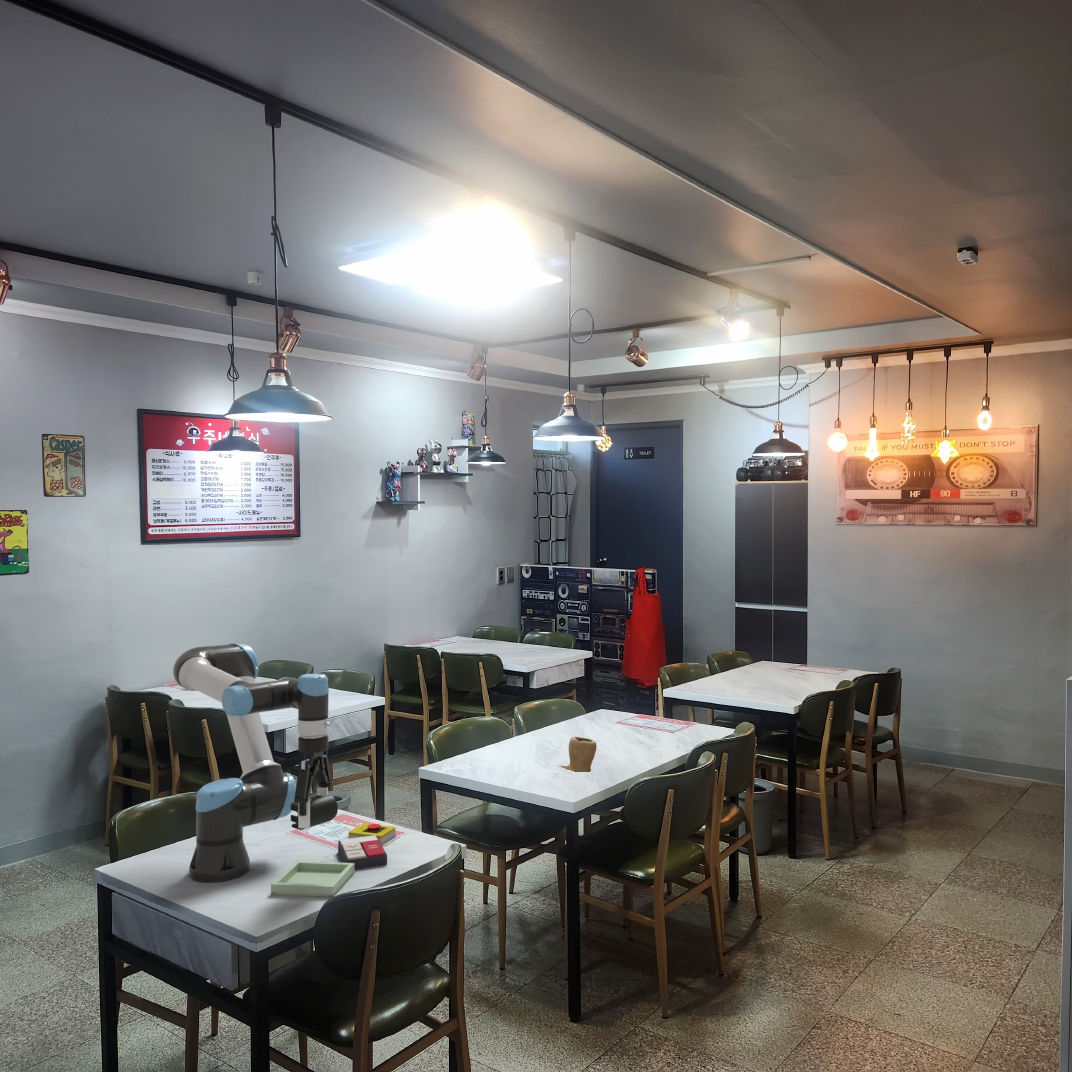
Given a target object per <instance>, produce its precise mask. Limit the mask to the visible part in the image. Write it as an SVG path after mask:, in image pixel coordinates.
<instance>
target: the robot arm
mask: <svg viewBox="0 0 1072 1072" xmlns="http://www.w3.org/2000/svg"><path fill="white" fill-rule="evenodd" d="M258 666H259V661H258V656H257V655H256V653H255V651H254V649H253V648H252V647H251V646H250V645H248V644H245V643H235V642H234V643H228V644H220V645H208V646H195V647H193V648H190V649H188V650H186V651H184V652H183V653H181V655H180V656H179V657H178V658H177V659H176V660H175V663H174V665H173V669H172V670H173V671H172V674H173V678H174V680H175V682H176V684H178V686H180V687H182V689H185V690H187V691H190V692H199V693H202V694H203V695H205V696H208V697H209V698H211V699H214V701H217V702H219V703H221V705H222V709H223V711H225V714H226V717H227V722H228V723H229V727H230V732H231V735H232V738H233V742H234V746H235V749H236V752H237V756H238V759H239V763H240V766H241V770H242V774H241V776H240V777H239V778H238V777H229V778H221V779H217V780H214V781H211V782H208V783H206V784H204V785H203V786H201V787H200V789H198V791H197V793H196V801H195V802H196V803H195V807H194V808H195V820H196V821H195V823H196V824H195V827H196V828H195V829H196V830H195V832H196V833H195V835H196V836H195V837H196V838H195V839H196V844H195V848H194V851H193V854H192V858H191V860H190V864H189V867H188V869H189V870H188V871H189V872H188V873H189V875H188V876H189V878H190V879H191V880H193V881H196V882H202V883H216V882H224V881H229V880H232V879H236V878H238V877H241V876H244V875H245V874H247V873H248V872H249V870H250V868H251V867H250V865H251V863H250V861H251V860H250V857H249V854H248V851H247V848H246V845H245V841H244V839H243V838H244V831H243V830H244V829H243V828H245V827H250V826H253V825H257V824H262V823H265V822H270V821H277V820H278V819H281V818H284V817H287V816H288V815H291V813H292V812H293V811H292V810H291V809H290V808H291V803H293V802H298V814H297V816H298V828H306V829H310V828H311V827H310V794H311V790H312V784H313V781H314V778H315V780H316V782H317V784H318V787H317V788H316V795H319V796H322V797H324V796H328V795H329V788H330V787H332V777H331V775H332V774H331V768H330V763H329V758H328V757H329V756H328V754H329V753H328V750H329V735H328V732H329V726H331V723H330V722H329V693H330V691H329V690H330V688H329V678H328V676H327V675H326V674H323V673H305V674H301V675H300V676H298V678H296V677H293V676H290V677H287V676H285V677H281V678H279V679H277V680H272V681H270V680H269V681H265V682H264V681H263V682H256V679H257V677H258V674H259V667H258ZM285 709H296V710H298V711H297V713H298V715H297V718H298V719H297V725H298V726H297V734H298V739H297V744H298V745H297V749H298V750H297V751H298V752H299V753H303V754H304V756H303V760H299V761H298V765H297V766H298V768H297V769H298V770H297V772H298V773H297V779H296V780H295V778H294V776H293V775H292V774H291V773H288V772H283V769H282V765H281V764H280V763H278V762H275V761H274V758H273V754H272V751H271V748H270V745H269V741H268V738H267V734H266V732H265V729H264V724H263V721H262V719H261V715H260V713H266V712H272V711H278V710H279V711H280V710H285ZM328 787H329V788H328Z"/></svg>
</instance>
